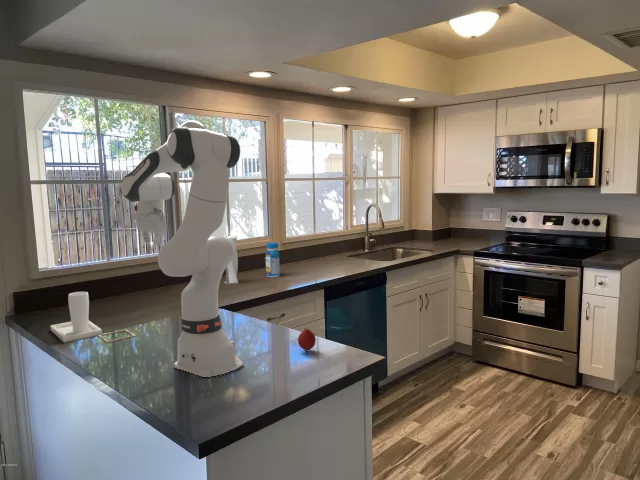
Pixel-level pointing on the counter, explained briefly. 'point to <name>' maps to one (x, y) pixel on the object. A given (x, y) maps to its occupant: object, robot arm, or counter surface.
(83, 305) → the drinking glass
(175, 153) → the robot arm
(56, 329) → the tray
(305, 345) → the onion
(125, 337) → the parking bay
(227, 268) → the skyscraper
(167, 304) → the counter surface
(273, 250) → the beverage bottle
